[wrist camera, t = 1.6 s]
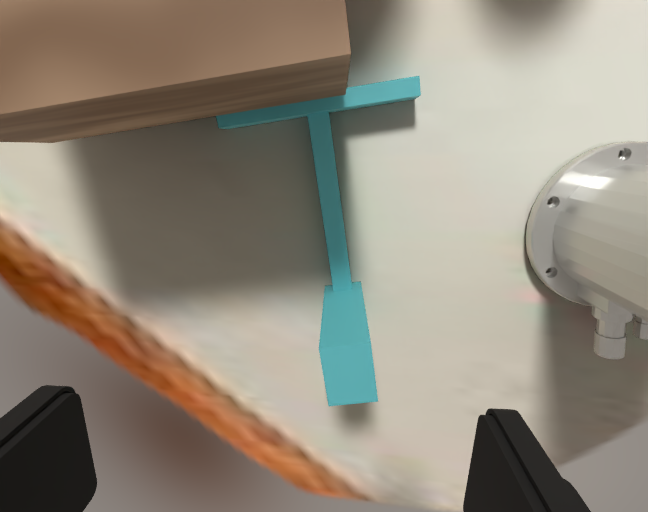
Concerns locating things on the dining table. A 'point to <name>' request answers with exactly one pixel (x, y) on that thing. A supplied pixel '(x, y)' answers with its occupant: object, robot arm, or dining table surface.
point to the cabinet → (161, 62)
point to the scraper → (336, 237)
